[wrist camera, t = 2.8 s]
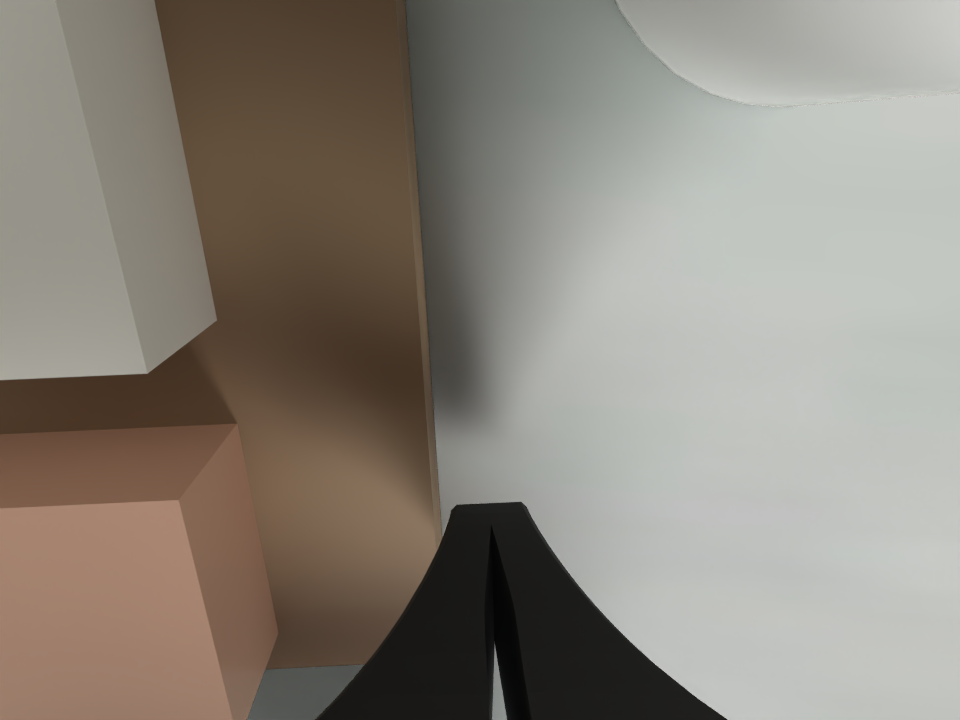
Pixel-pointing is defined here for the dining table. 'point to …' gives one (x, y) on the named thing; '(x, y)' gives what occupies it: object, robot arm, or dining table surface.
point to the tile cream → (93, 195)
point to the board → (298, 309)
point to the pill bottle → (804, 47)
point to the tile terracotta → (130, 576)
